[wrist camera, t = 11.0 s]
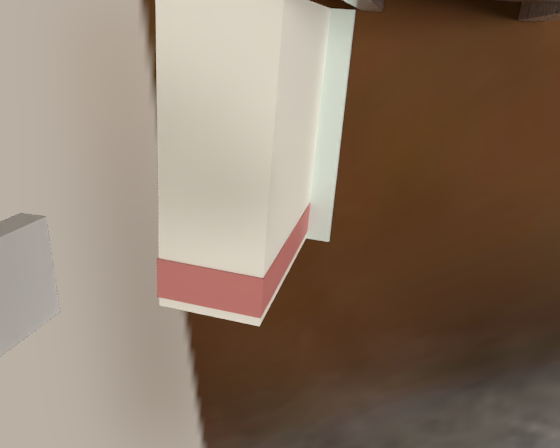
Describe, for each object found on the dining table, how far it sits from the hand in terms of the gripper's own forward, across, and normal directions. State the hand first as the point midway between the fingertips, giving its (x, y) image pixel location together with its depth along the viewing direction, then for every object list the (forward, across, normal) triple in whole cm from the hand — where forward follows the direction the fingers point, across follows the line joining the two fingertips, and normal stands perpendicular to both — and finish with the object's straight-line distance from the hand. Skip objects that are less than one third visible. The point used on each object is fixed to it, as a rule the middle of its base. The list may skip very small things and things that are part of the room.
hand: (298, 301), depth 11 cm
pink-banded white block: (+20, +6, -1) cm, 21 cm away
